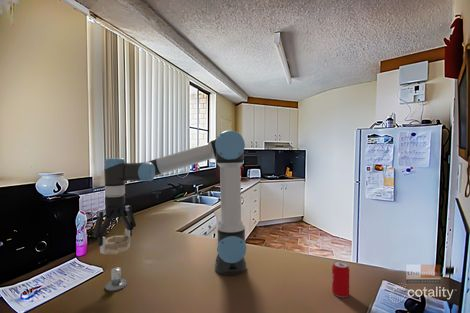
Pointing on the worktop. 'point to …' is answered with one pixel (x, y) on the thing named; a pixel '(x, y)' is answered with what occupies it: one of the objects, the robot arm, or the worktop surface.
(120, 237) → the ring
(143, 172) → the robot arm
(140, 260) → the worktop surface
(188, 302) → the worktop surface
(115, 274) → the post
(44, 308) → the worktop surface
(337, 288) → the beverage can
